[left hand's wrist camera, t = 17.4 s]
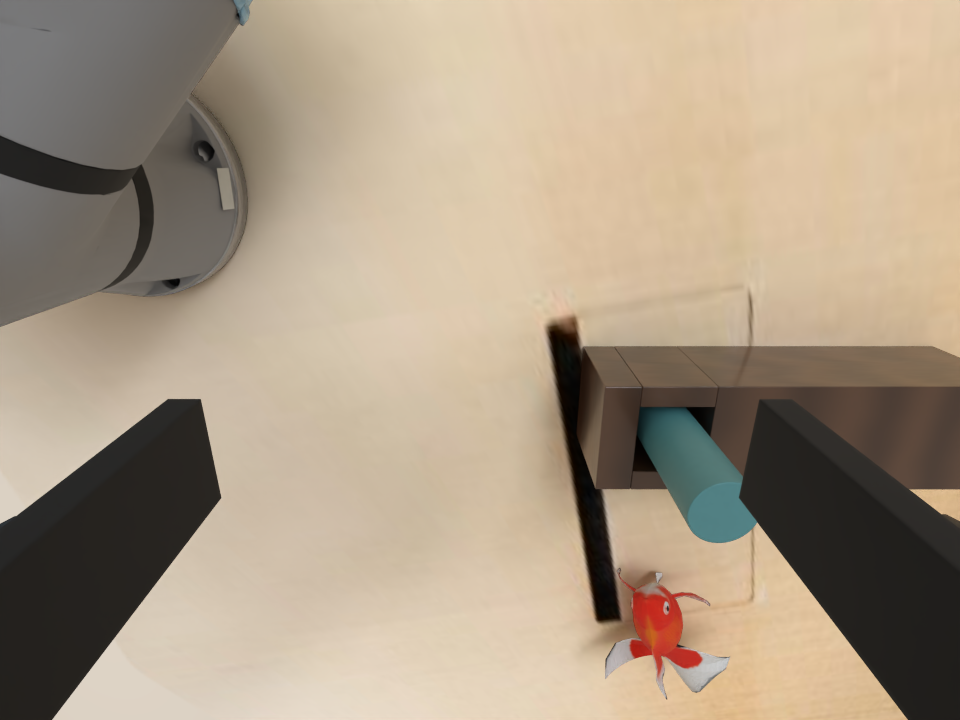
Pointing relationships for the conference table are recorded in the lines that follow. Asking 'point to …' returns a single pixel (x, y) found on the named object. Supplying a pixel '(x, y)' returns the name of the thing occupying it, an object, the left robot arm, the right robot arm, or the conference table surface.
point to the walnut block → (775, 375)
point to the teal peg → (695, 473)
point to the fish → (663, 638)
